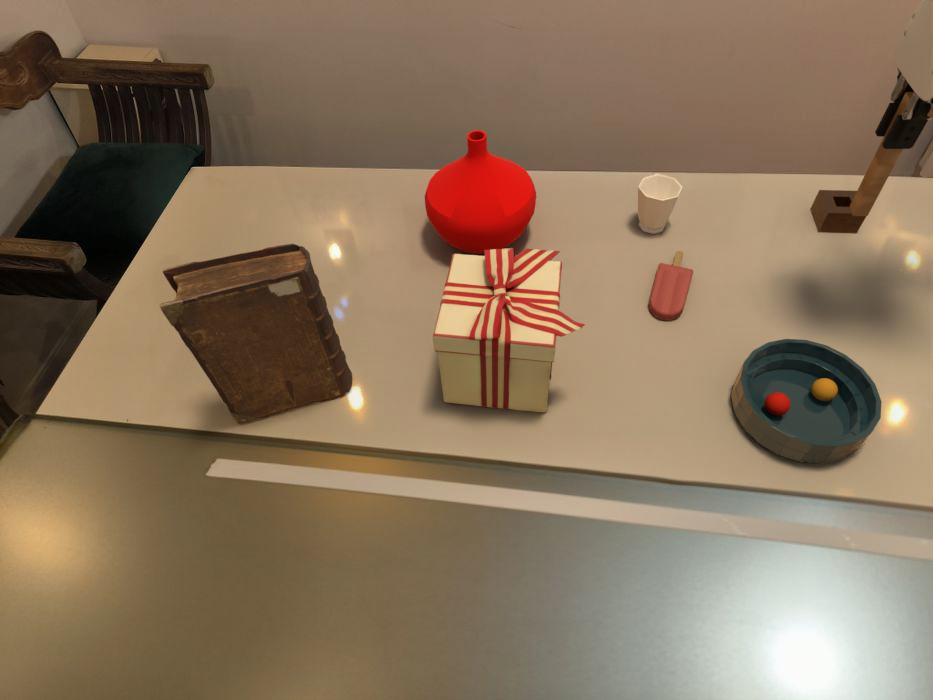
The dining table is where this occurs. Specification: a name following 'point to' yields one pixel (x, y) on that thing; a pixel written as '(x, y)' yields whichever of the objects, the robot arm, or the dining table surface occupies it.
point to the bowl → (806, 401)
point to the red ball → (777, 403)
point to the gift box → (500, 328)
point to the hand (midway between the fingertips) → (893, 140)
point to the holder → (835, 212)
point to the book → (259, 330)
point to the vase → (480, 199)
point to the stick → (878, 170)
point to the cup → (656, 201)
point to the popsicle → (670, 289)
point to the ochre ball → (824, 389)
